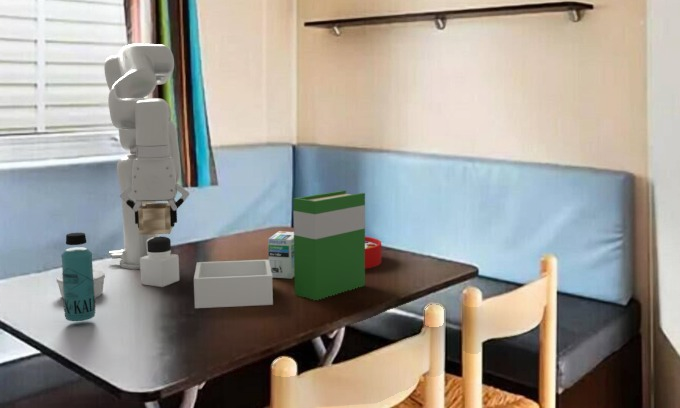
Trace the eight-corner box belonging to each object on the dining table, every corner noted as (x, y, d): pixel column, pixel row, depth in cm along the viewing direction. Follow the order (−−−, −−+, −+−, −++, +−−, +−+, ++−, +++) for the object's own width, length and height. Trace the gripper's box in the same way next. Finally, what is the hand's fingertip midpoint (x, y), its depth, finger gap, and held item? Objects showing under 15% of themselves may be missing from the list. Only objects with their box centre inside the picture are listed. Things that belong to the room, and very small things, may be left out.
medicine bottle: (180, 280, 193) (178, 236, 191) (162, 287, 187) (160, 241, 185) (158, 277, 196) (156, 234, 194) (140, 284, 190) (138, 239, 188)
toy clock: (390, 248, 205) (320, 252, 200) (389, 268, 206) (320, 272, 201) (370, 233, 224) (306, 237, 220) (370, 252, 225) (306, 256, 221)
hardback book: (343, 280, 193) (343, 190, 189) (364, 285, 188) (364, 193, 184) (294, 294, 180) (293, 198, 176) (315, 300, 175) (314, 201, 171)
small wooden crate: (139, 234, 171) (138, 209, 170) (144, 227, 180) (142, 203, 179) (170, 233, 172) (168, 208, 171) (173, 226, 181) (172, 202, 180)
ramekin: (60, 305, 173) (59, 283, 172) (55, 293, 182) (53, 272, 181) (109, 298, 178) (108, 277, 177) (101, 287, 187) (100, 267, 187)
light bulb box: (292, 279, 194) (291, 239, 192) (267, 278, 195) (267, 238, 194) (302, 269, 204) (301, 231, 203) (279, 268, 206) (278, 230, 204)
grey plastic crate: (194, 308, 169) (193, 279, 168) (198, 289, 185) (197, 262, 184) (272, 304, 172) (272, 275, 171) (269, 286, 187) (268, 259, 186)
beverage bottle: (69, 319, 162) (63, 230, 159) (100, 318, 163) (94, 229, 159) (60, 328, 156) (54, 236, 152) (92, 327, 156) (87, 236, 153)
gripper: (112, 154, 168) (116, 230, 171) (189, 153, 171) (192, 228, 174) (117, 151, 175) (121, 224, 178) (191, 150, 178) (194, 222, 181)
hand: (156, 225), depth 176 cm, fingers closed on small wooden crate, 7 cm apart
